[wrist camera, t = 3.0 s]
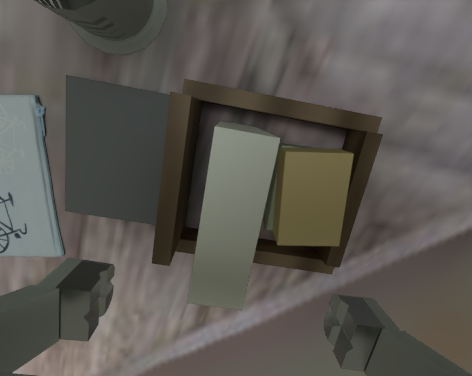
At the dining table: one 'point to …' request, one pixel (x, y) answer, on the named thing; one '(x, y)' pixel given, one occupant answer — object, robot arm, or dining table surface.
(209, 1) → the dining table surface
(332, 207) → the offcut upper
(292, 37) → the dining table surface
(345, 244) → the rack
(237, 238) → the pale grey rectangular block
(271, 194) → the offcut lower
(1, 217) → the light flat printed piece
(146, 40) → the french press
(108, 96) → the pad
